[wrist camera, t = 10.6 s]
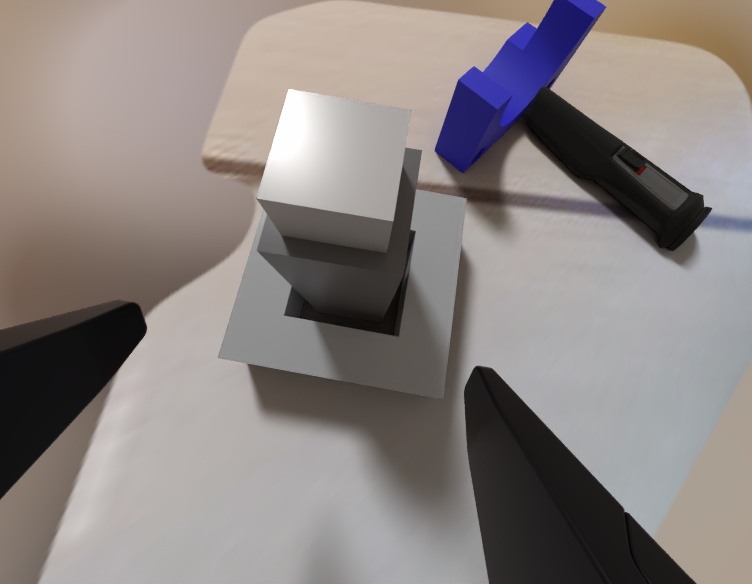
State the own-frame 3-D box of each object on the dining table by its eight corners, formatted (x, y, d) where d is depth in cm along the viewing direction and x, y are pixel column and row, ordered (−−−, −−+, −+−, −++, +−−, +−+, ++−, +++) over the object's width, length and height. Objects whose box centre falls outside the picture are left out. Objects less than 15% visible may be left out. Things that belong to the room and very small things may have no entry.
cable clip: (508, 61, 25) (552, -29, 19) (548, 90, 24) (606, 7, 19) (420, 140, 23) (439, 65, 17) (462, 175, 22) (497, 109, 16)
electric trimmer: (534, 107, 24) (558, 70, 21) (689, 226, 22) (741, 203, 19) (507, 131, 24) (528, 97, 21) (664, 257, 21) (714, 239, 18)
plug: (381, 322, 19) (415, 249, 6) (317, 311, 19) (223, 217, 6) (391, 261, 20) (436, 95, 7) (330, 251, 20) (271, 67, 7)
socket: (428, 392, 18) (447, 402, 14) (245, 358, 18) (209, 357, 14) (449, 224, 21) (471, 190, 17) (291, 195, 21) (273, 154, 17)
